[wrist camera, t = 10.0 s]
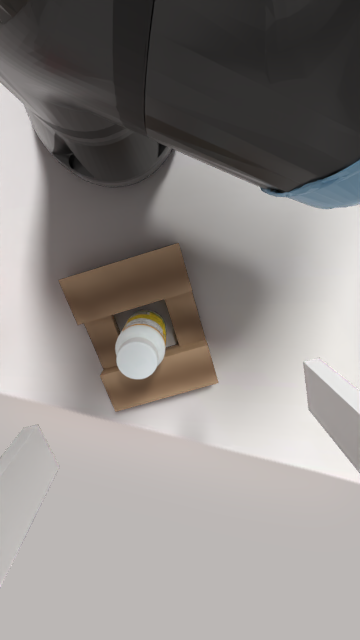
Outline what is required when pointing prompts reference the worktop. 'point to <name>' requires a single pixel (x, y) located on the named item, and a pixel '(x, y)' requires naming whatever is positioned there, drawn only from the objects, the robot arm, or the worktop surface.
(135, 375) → the supplement bottle
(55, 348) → the worktop surface
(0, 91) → the worktop surface
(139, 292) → the frame
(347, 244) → the worktop surface
